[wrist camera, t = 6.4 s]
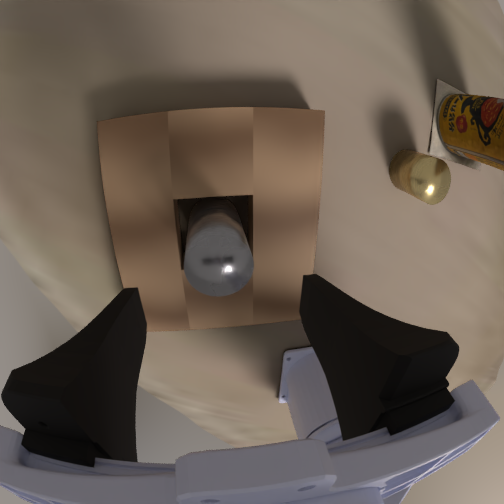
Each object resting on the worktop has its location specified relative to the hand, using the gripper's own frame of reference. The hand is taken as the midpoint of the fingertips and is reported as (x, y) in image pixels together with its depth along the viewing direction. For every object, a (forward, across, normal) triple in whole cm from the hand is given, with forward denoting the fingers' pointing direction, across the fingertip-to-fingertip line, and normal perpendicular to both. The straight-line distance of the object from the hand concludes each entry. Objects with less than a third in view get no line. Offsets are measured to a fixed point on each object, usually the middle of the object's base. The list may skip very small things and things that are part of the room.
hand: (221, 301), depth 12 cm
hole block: (+10, 0, 0) cm, 10 cm away
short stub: (+10, -16, -4) cm, 19 cm away
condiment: (+10, -23, -9) cm, 27 cm away
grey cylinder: (+10, 0, 0) cm, 10 cm away
